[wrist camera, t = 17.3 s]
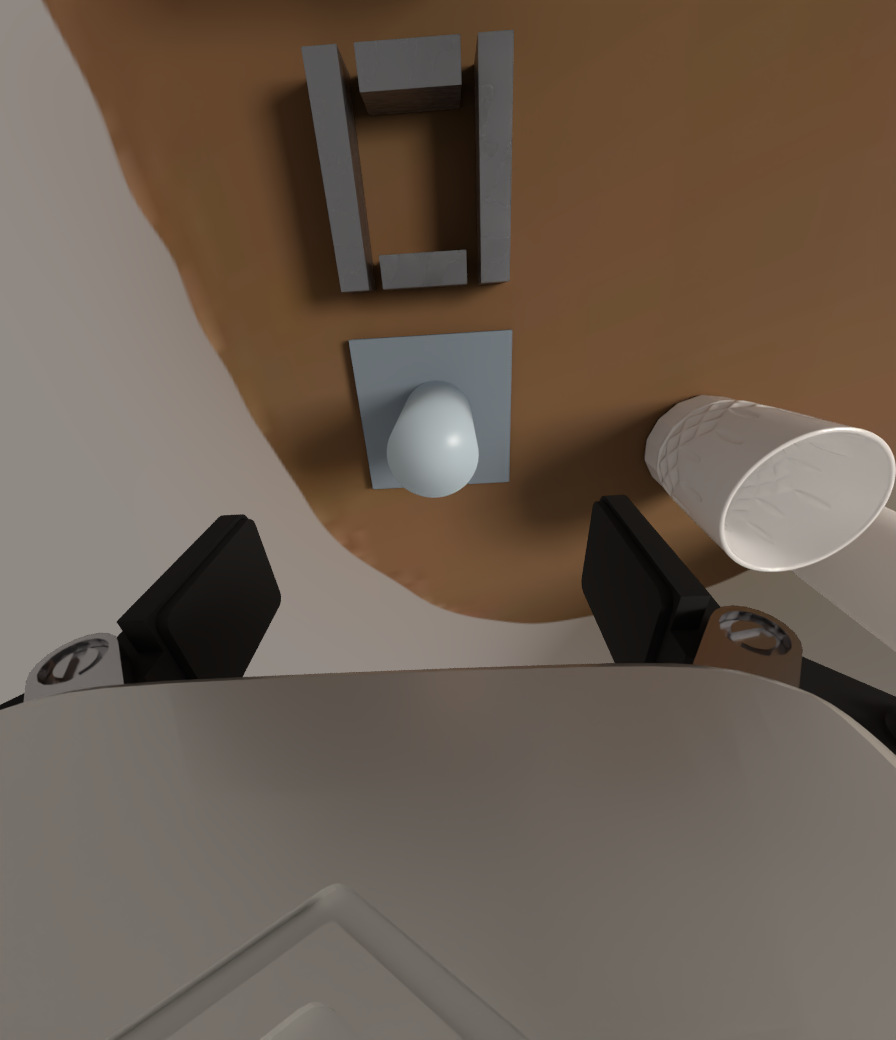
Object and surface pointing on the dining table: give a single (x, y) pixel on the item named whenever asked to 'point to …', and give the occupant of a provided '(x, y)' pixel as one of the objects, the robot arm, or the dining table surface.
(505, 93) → the cartridge socket
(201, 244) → the dining table surface
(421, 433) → the cylinder
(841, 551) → the cylindrical container
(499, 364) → the rubber mat
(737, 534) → the white cup
